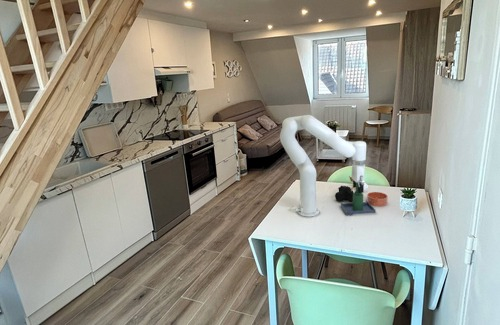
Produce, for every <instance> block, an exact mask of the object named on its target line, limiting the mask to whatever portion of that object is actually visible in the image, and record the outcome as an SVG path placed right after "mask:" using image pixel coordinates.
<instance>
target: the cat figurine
mask: <svg viewBox="0 0 500 325" xmlns="http://www.w3.org/2000/svg"><path fill="white" fill-rule="evenodd" d="M348 177H349V180H350V182H352V183H353V179H352V176H350V175H349V176H348ZM350 189H351V190H353V189H354V188H353V187H350ZM368 190H369V186H368V183H366V182H364V192H363V193H365V192H367V191H368Z"/></svg>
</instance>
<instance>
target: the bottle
mask: <svg viewBox="0 0 500 325" xmlns="http://www.w3.org/2000/svg"><path fill="white" fill-rule="evenodd" d="M360 184H361V183H360ZM363 202H364V192H363V193H358V182H357V183H356V187H355V190H354V193H353V202H352V203H353V210H354V211H361V210H363Z"/></svg>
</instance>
